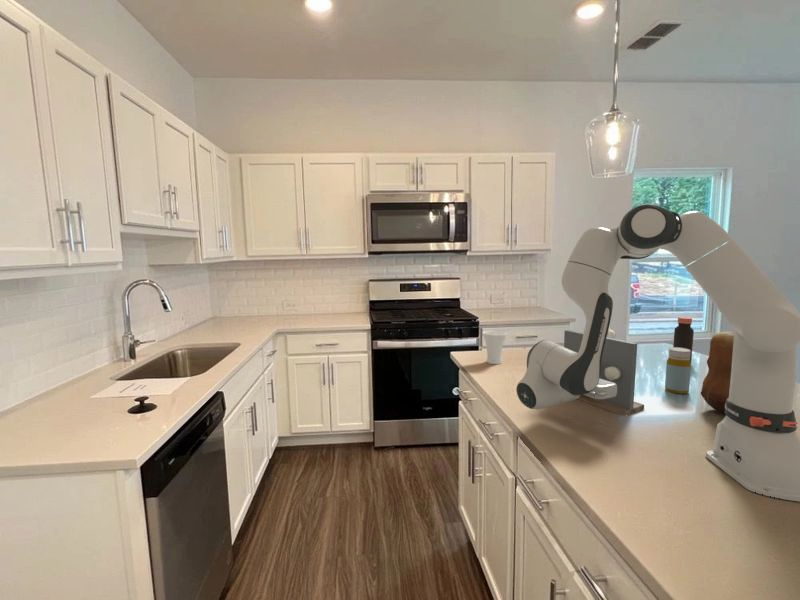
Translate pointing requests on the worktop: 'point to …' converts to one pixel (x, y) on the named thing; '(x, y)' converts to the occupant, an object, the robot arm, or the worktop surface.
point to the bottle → (678, 370)
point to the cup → (494, 345)
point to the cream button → (612, 373)
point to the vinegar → (684, 334)
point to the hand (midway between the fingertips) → (595, 377)
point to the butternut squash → (718, 371)
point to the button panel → (613, 355)
